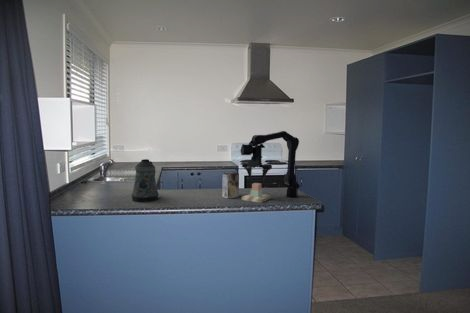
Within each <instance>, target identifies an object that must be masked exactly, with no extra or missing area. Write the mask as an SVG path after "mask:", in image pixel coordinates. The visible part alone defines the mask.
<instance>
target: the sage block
mask: <svg viewBox="0 0 470 313" xmlns="http://www.w3.org/2000/svg"><path fill="white" fill-rule="evenodd" d="M250 193H251V196H252V197H260V196H262V194H263V189H261V190H259V191H255V190H252V189H250Z"/></svg>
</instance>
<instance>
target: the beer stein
mask: <svg viewBox="0 0 470 313" xmlns="http://www.w3.org/2000/svg"><path fill="white" fill-rule="evenodd" d="M134 169H135V177H134V184H133V188H132V191H131V199H132V201H133V202H137V203H149V202H155V201H157V200H158V199H159V198H158V197H159V191H158V188H157V183H156V166H155V165H154V164H153V162H152V161H150V159H147V158H146V159H143V158H142V159H141V161H140V162H138V163H137V164H136V165H135V166H134Z"/></svg>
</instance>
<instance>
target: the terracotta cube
mask: <svg viewBox="0 0 470 313" xmlns="http://www.w3.org/2000/svg"><path fill="white" fill-rule="evenodd" d="M251 190H255V191H259V190H262V183H259V182H254V183H252V184H251Z"/></svg>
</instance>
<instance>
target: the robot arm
mask: <svg viewBox="0 0 470 313" xmlns="http://www.w3.org/2000/svg"><path fill="white" fill-rule="evenodd" d="M281 138H282V139H283V140H284V141H285V142H286V147H287V150H288V152H287V153H288V155H287V170H286V173H284V174H283V181H284V183H285V185H286V187H287V189H286V198H293V199H294V198H295V199H296V198H298V197H299V189H300V186H301V185H300V184H299V183H298V181H297V175H296V171H295V170H296V155H297V153H296V152H297V150H298V147H299V144H300V140H299V138H298V137H296V136H293V135H291V134H290V133H288V132H287V131H286V130H281V131H278V132H272V133H268V134H255V135H252V137H251V140H250V141H249V143H248V144H245V143H242V145H241V148H240V155H241V156H251V155H252V156H251V158H250V160H249V161H246V162H242V164H241V168H243V169H244V170H246V171H247V174H248V178H249V179H252V173H253V172H252V170H253V168H254V169H255V168H259V169H261V171H262V174H261V175H262V177H261V180H262V181H265V177H266V175H267V174H268V172H269V171H270V170H272V169H273V166H272V164H271V163H264V164H263V162H262V159H263V155H262V151H263V149H265V148H266V146H265V145H264V144H265V143H266V142H268V141H273V140H277V139H281Z"/></svg>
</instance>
